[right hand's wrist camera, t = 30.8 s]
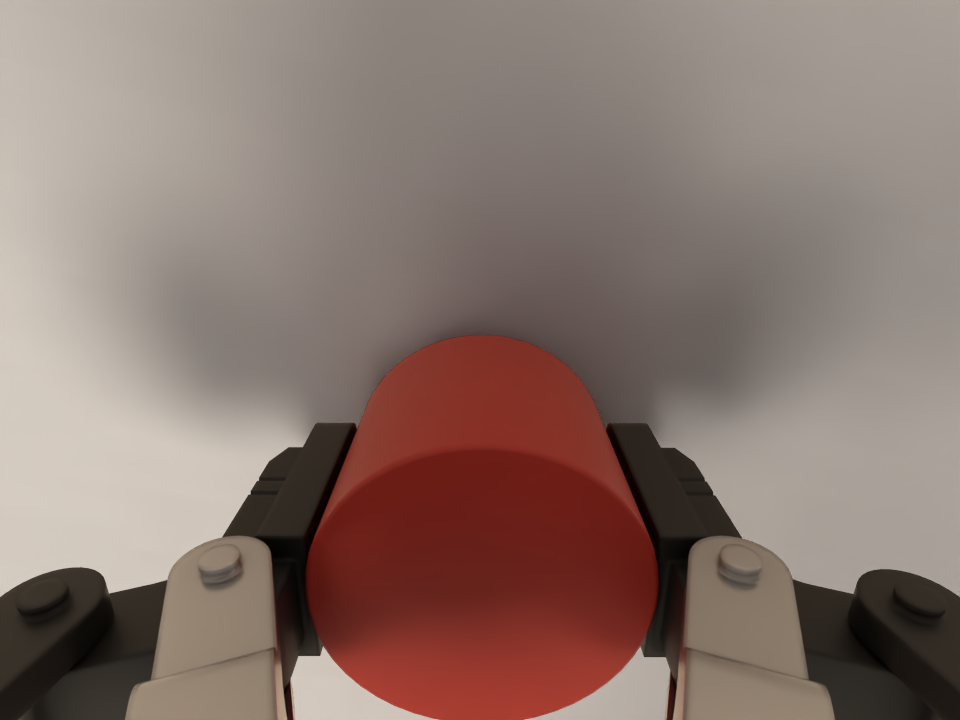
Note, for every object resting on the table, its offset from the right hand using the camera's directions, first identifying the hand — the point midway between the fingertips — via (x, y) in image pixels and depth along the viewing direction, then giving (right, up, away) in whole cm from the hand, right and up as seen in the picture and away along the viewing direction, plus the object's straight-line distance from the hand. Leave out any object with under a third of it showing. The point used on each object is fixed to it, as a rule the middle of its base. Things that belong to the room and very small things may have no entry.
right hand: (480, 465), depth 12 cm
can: (0, 0, 0) cm, 0 cm away
